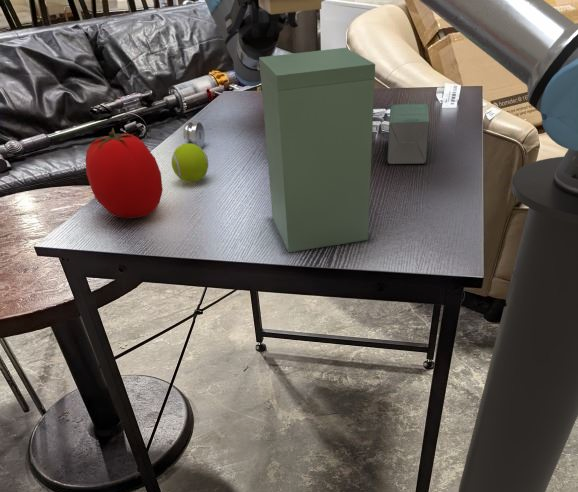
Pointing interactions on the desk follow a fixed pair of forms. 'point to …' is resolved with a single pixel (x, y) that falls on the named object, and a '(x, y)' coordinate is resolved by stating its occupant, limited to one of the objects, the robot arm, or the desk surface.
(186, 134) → the grooved metal pulley
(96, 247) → the desk surface
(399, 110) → the box
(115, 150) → the tomato
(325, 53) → the stand
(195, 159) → the tennis ball
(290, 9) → the tan wooden slab
